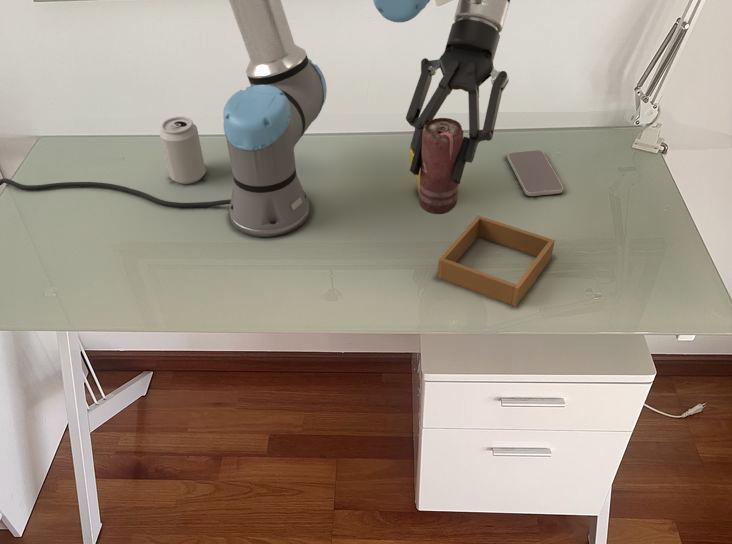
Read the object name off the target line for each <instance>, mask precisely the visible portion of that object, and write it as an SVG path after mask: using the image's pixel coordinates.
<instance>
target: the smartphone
mask: <svg viewBox="0 0 732 544" xmlns="http://www.w3.org/2000/svg"><path fill="white" fill-rule="evenodd" d="M506 158H507V161H508V162H509V163H508V164H509V165H510V167H511V169H512V170H513V173H514V174H515V177H516V178H517V181H518V182H519V184H520V187H521V188H522V190H523V193H524V194H525V195H526V196H529V197H537V196H546V195H556V194H561V193H562V192H563V190H564V186H563V184H562V182H561V180H560V178H559V177H558V176H557V174H556V172H555V170H554V168H553V167H552V165H551V163H550V162H549V159H548V158H547V156H546V155H545V152H544V151H543V150H540V149H533V150H532V149H531V150H522V151H511V152H508V154H507V157H506Z"/></svg>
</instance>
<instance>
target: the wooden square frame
mask: <svg viewBox="0 0 732 544" xmlns="http://www.w3.org/2000/svg"><path fill="white" fill-rule="evenodd" d="M478 238H482V239H485V240H487V241H490V242H493V243H496V244H498V245H501V246H505V247H507V248H511V249H513V250H517V251H519V252H523V253H525V254H529V255H530V256H531V255H532V256H534V257H536V258H535V259H534V260H533V261H532V263H531V264H530V265H529V266H528V268H527V269H526V271H525V272H524V273H523V274H522V276H521V277H520V279H519V280H518V281H517V283H514V282H511V281H508V280H506V279H502V278H500V277H497V276H494V275H492V274H489V273H486V272H484V271H481V270H478V269H475V268H473V267H471V266H467V265H464V264H461V263H459V262H458V260H459V259H460V258H461V257H462V256H463V254H464V253H465V252H466V251H467V250H468V249H469V247H471V245H472V244H473V243H474V242H475V241H476V240H477V239H478ZM555 243H556V240H555V239H552V238H549V237H547V236H542V235H540V234H537V233H533V232H530V231H528V230H524V229H521V228H518V227H515V226H512V225H510V224H506V223H503V222H500V221H497V220H494V219H491V218H488V217H484V216H481V215H476V217H475V218H474V219H473V220H472V221H471V222H470V223H469V224H468V225H467V227H465V229H464V230H463V231H462V232H461V233H460V235H459V236H458V237H457V238H456V239H455V240H454V241H453V243H452V244H451V245H449V246H448V248H447V249H446V250H445V252H444V253H443V254H441V256H440V257H439V258H438V263H437V278H438V279H441V280H443V281H445V282H448V283H452V284H454V285H457V286H459V287H462V288H465V289H468V290H470V291H473V292H474V293H475V292H476V293H478V294H481V295H484V296H486V297H489V298H491V299H494V300H496V301H499V302H501V303H504V304H507V305H510V306H513V307H514V308H515V307H517V306H518V304H519V303H520V302H521V300H522V299H523V297H525V295H526V294H527V292H528V291H529V289H530V288H531V287H532V286H533V284H534V283H535V282H536V280H537V279H538V277H540V274H541V273H542V272H543V270H545V268H546V267H547V265H548V264H549V263H550V261H551V260H552V259H553V258H552V257H553V254H554V253H553V251H554V247H555Z"/></svg>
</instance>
